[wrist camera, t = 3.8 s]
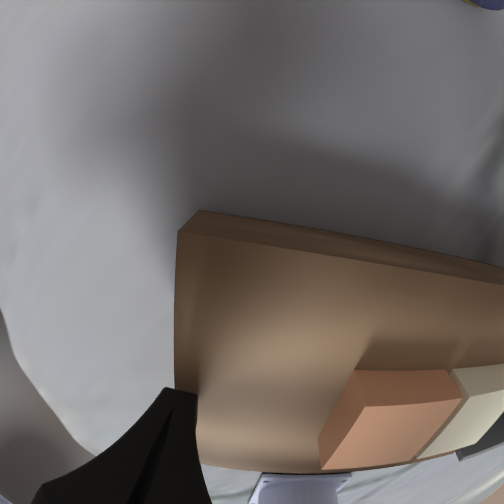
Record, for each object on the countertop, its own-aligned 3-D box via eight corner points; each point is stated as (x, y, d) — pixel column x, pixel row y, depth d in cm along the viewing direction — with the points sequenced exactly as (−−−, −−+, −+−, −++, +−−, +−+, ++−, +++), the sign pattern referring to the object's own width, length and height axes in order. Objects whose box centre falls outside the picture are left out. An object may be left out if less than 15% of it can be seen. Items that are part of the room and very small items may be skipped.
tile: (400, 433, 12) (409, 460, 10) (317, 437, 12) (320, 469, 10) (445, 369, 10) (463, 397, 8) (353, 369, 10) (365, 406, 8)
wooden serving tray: (441, 427, 17) (453, 453, 14) (188, 423, 16) (179, 459, 14) (530, 274, 12) (558, 295, 9) (199, 210, 12) (177, 231, 9)
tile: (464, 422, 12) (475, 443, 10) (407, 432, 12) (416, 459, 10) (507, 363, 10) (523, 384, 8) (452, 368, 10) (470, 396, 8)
